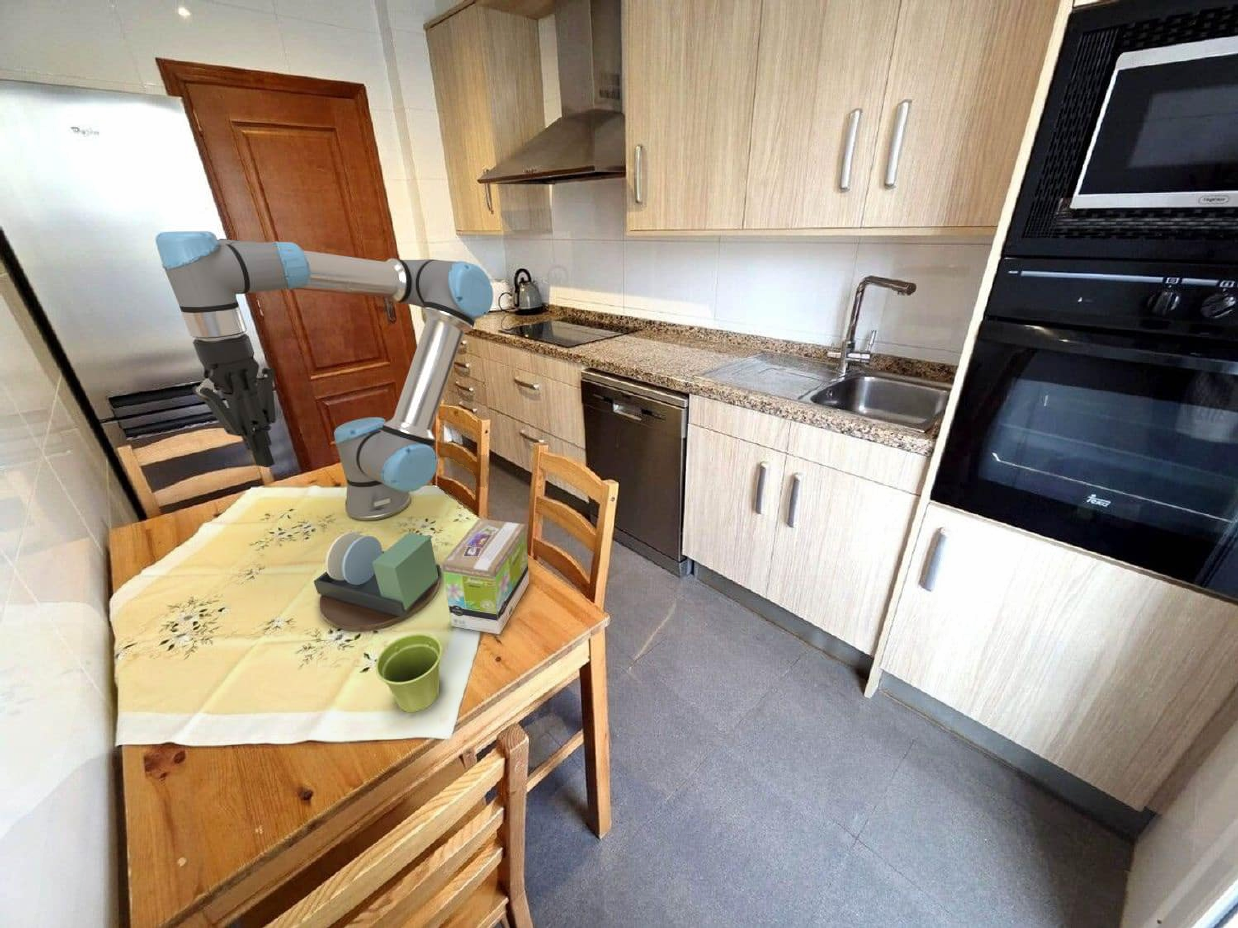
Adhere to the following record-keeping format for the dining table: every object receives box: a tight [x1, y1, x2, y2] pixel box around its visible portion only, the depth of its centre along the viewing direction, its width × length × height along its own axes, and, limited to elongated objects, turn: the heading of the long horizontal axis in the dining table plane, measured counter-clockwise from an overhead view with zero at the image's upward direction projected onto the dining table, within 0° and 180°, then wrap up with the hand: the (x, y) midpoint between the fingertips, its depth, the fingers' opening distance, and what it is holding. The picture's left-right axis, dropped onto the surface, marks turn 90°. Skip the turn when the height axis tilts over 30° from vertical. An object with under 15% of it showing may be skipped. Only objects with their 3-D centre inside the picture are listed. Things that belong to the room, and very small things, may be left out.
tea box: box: [441, 517, 530, 635], centre depth 94 cm, size 15×10×15 cm, turn 168°
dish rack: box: [313, 531, 443, 617], centre depth 98 cm, size 20×12×11 cm, turn 72°
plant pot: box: [374, 633, 443, 713], centre depth 77 cm, size 9×9×9 cm
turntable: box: [318, 579, 441, 632], centre depth 101 cm, size 22×22×1 cm
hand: (265, 464), depth 92 cm, fingers closed
